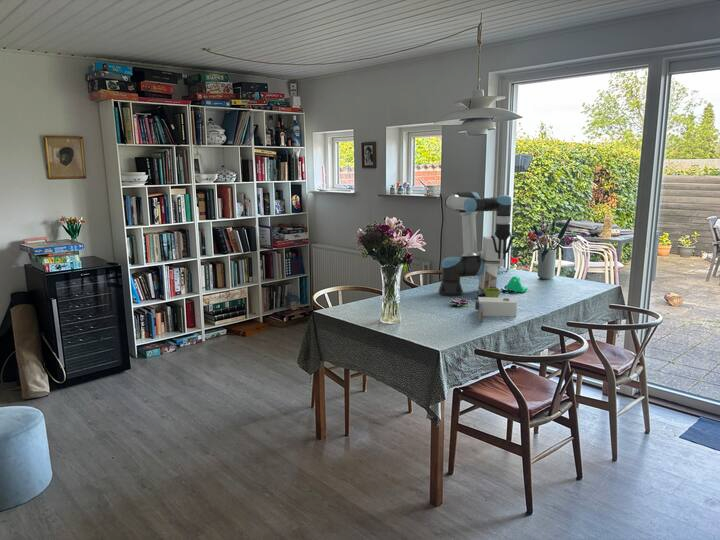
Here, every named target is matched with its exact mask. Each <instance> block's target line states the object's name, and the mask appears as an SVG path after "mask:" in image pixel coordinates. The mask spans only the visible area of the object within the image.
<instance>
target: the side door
mask: <svg viewBox="0 0 720 540" xmlns="http://www.w3.org/2000/svg"><path fill="white" fill-rule="evenodd" d="M478 316H479V317H478V318H479V322H480V324H484V323H483V321H484V316H483V310H482V306H481V304H479V315H478Z"/></svg>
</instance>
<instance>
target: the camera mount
mask: <svg viewBox="0 0 720 540" xmlns="http://www.w3.org/2000/svg"><path fill="white" fill-rule="evenodd" d="M504 288H505V290H507V289H511V290H513V291H515V292H514V293H516V292H518V293H523V292H527V291H528V289H529V288H528V287H525V286H523V285H522V283H521V278H520V277H519V276H518V275H514V276H512V277H511V278H510V280H509V281H508V283H507V284H506V286H505V287H504ZM511 290H510V291H511Z"/></svg>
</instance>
